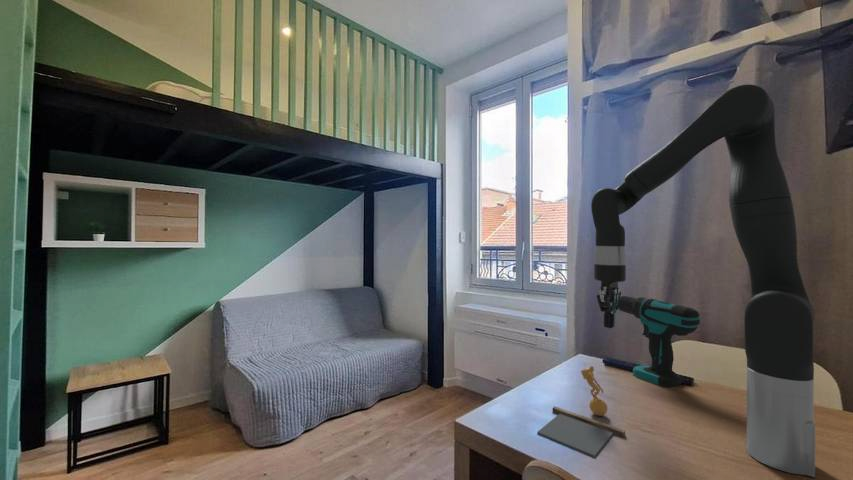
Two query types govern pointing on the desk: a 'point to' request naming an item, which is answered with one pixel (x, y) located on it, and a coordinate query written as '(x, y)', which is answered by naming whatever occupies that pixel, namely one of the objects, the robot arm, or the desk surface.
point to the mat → (576, 434)
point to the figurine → (595, 404)
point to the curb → (590, 421)
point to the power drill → (660, 335)
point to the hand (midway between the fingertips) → (609, 327)
